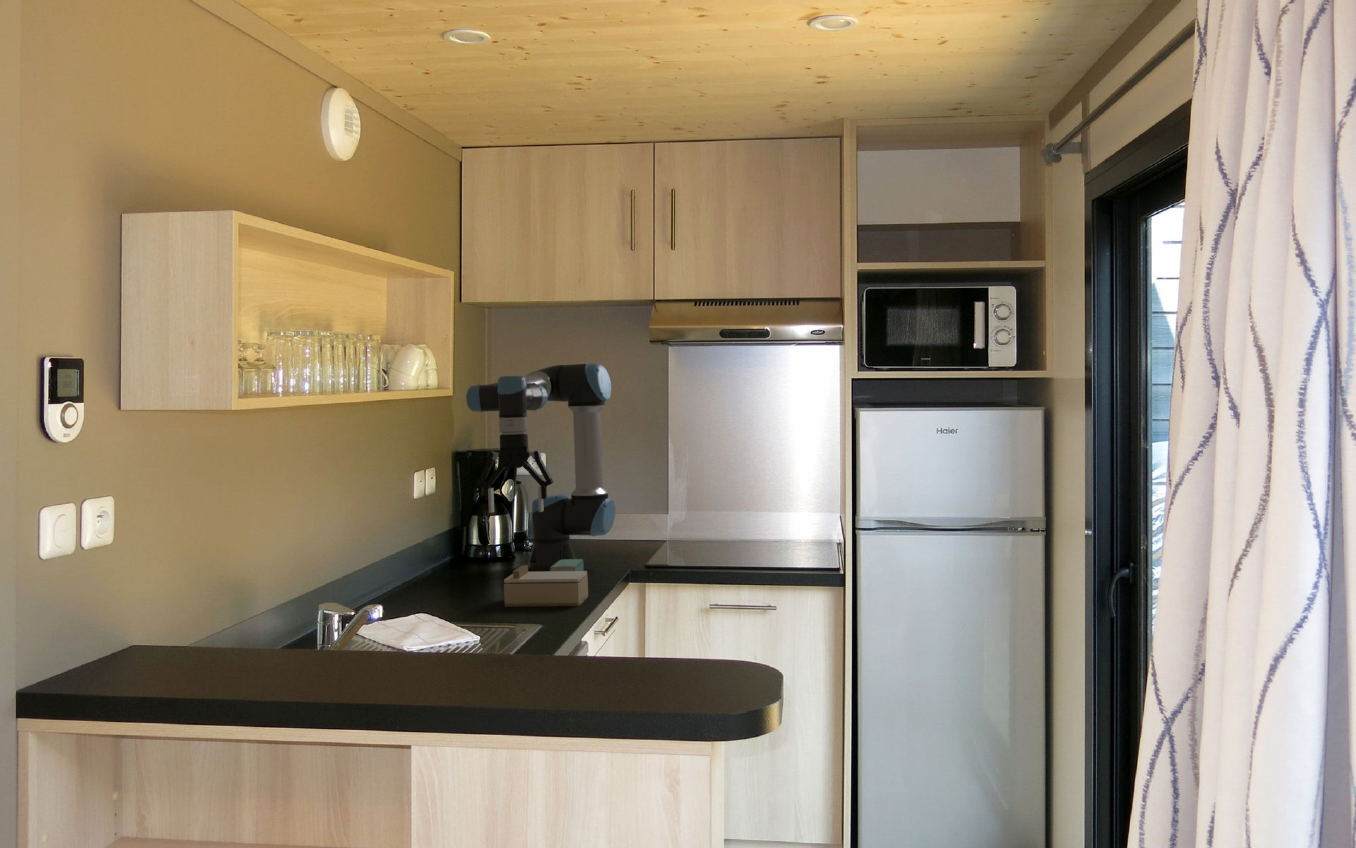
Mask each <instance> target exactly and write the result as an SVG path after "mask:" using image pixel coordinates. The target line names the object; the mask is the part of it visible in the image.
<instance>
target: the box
mask: <svg viewBox="0 0 1356 848" xmlns="http://www.w3.org/2000/svg"><path fill="white" fill-rule="evenodd" d="M550 571H585V570H584V559H582V558H581V559H580V558H576V559H563V560H559V561H558V562H556V563H555V564H554V565H553V566H551V567H550Z"/></svg>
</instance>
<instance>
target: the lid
mask: <svg viewBox="0 0 1356 848" xmlns="http://www.w3.org/2000/svg"><path fill="white" fill-rule="evenodd" d="M585 575H588V571H587V570H584V571H529V564H526V565H525V564H524V565H523V564H522V565H520V566H518V568H516V569H514V570H513V571H512V574H510V575H509V576H507V577H506V578H504V579H503V580H504V581H503V583H504V584H505V583H522V582H579V581H580V580H581V579H582V578H583V577H584V576H585Z"/></svg>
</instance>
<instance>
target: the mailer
mask: <svg viewBox="0 0 1356 848" xmlns="http://www.w3.org/2000/svg"><path fill="white" fill-rule="evenodd" d="M588 582H589V580H588V574H586V575H585V576H584V577H583V578H582V579H581V580H580V581H579V582H522V583H504V584H503V591H504V592H503V593H504V596H503V597H504V607H510V608H511V607H517V608H518V607H579V606H581V605H582V604H583V603H584V601H585V600H586V599H588V597H589V583H588Z"/></svg>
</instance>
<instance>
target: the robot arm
mask: <svg viewBox="0 0 1356 848" xmlns="http://www.w3.org/2000/svg"><path fill="white" fill-rule="evenodd" d="M610 377H611V376H610V375H609V372H608V371H607V369H606V368H605V366H603V365H602V364H600V363H590V362H589V363H579V364H578V363H576V364H575V363H573V364H558V365H556V364H555V365H552V366H548V367H544V368H540V369H538V370H534V371H533V370H532V371H530V372H528V374H526V375H523V376H522V375H509V376H508V375H506V376H505V375H503V376H500V377H499V378H498V379H497V382H494V383H489V384H478V385H471V386H470V387H469V388H467V390H466V396H465V399H466V404H467V407H468V408H469V410H470V411H472V412H480V413H483V412H498V426H499V429H498V430H499V433H501V434H499V452H495V451H489V452H488V454H487V461H486V464H485V465H484V467H483V470H482V472H481V474H480V477H479V479H478V481H477V484H476V485H477V486H478V487H481V488H483V490H484V500H485V501H488V513H489V514H492V513H495V496H494V494H495V493H494V492H495V491H494V487H492V485H493V484H494V483H495V482H496V480H497V479H498V478H499V476H500V475H501V474H502V473H503V472H504V471H505V469H506V468H507V469H512V468H516V469H518V468H519V469H521V468H523V469H525V471H527V473H528V474H530V476H531V477H532V478H533V479H534V480H535V482H537V483H538V485H539V486H538V488H537V498H535V499H534V500H533V501H532V502H531V503H532V504H531V517H532V518H531V519H532V521H531V522H532V538H533V539H532V541H533V544H532V548H531V552H530V555H529V559H528V570H530V571H532V572H546V571H550V567H551V566H553V565H554V564H555V563H556V562H558V561H559V560H563V559H577V558H576V556H575V553H574V551H573V550H574V549H573V547H572V545H571V541H570V539H571V537H570V536H591V537H596V536H605V535H607V534H609V532H610V531H611V530H612V528H613V525H614V522H615V518H616V505H615V501H614V500H613V498H609V492H608V491H607V490H606V489H605V488H604V483H603V480H604V479H603V453H602V452H603V451H602V448H603V446H602V445H603V444H602V424H601V423H602V419H601V418H602V417H601V416H602V414H601V411H602V410H603V409H604V408H605V407H606V401H608V400H610V398H611V396H612V395H611V394H612V383H611V379H610ZM551 401H552V402H564V403H565V402H567V408H568V409H569V411H571V412H572V417H573V419H572V420H573V446H574V447H573V448H574V474H575V479H574V480H575V481H574V482H575V489H574V490H573V491H572V492H571V493H570V496H571V497H569V495H568V493H560V494H554V495H553V494H552V495H548V491H547V490H548V489H547V487H548V486H550V485H552V484H553V483H554V480H553V478H552V475H551V474H550V472H549V470H548V468H547V467H546V465H545V463H544V461H543V459H542V457H541V456H542V455H541V451H540V450H539V449H537V450H534V451H530V450H529V437H528V436H529V435H528V433H526V432H528V431H529V430H528V429H529V428H528V413H527V412H528V411H535V412H536V411H537V410H541V409H542V408H544V407H545V405H546V404H547V402H551ZM530 457H531V458H532V459H533V460H534V461H535V463H536V465H537V466H538V469H539V471H540V472H541V474H542V476H541V475H540V474H539V473H538V471H536V470H535V469H534V467H533V466H532V464H530V462H529V458H530ZM498 458H499V459H500V461H501V463H500V464H499V465H498V467H497V468H496V469H495V471H494V472H493V473H492V475H490V477H489V474H490V472H491V470H492V467H493V465H494V463H495V461H496V460H497V459H498ZM488 477H489V479H488ZM543 478H544V479H543ZM486 480H487V481H486Z"/></svg>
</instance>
